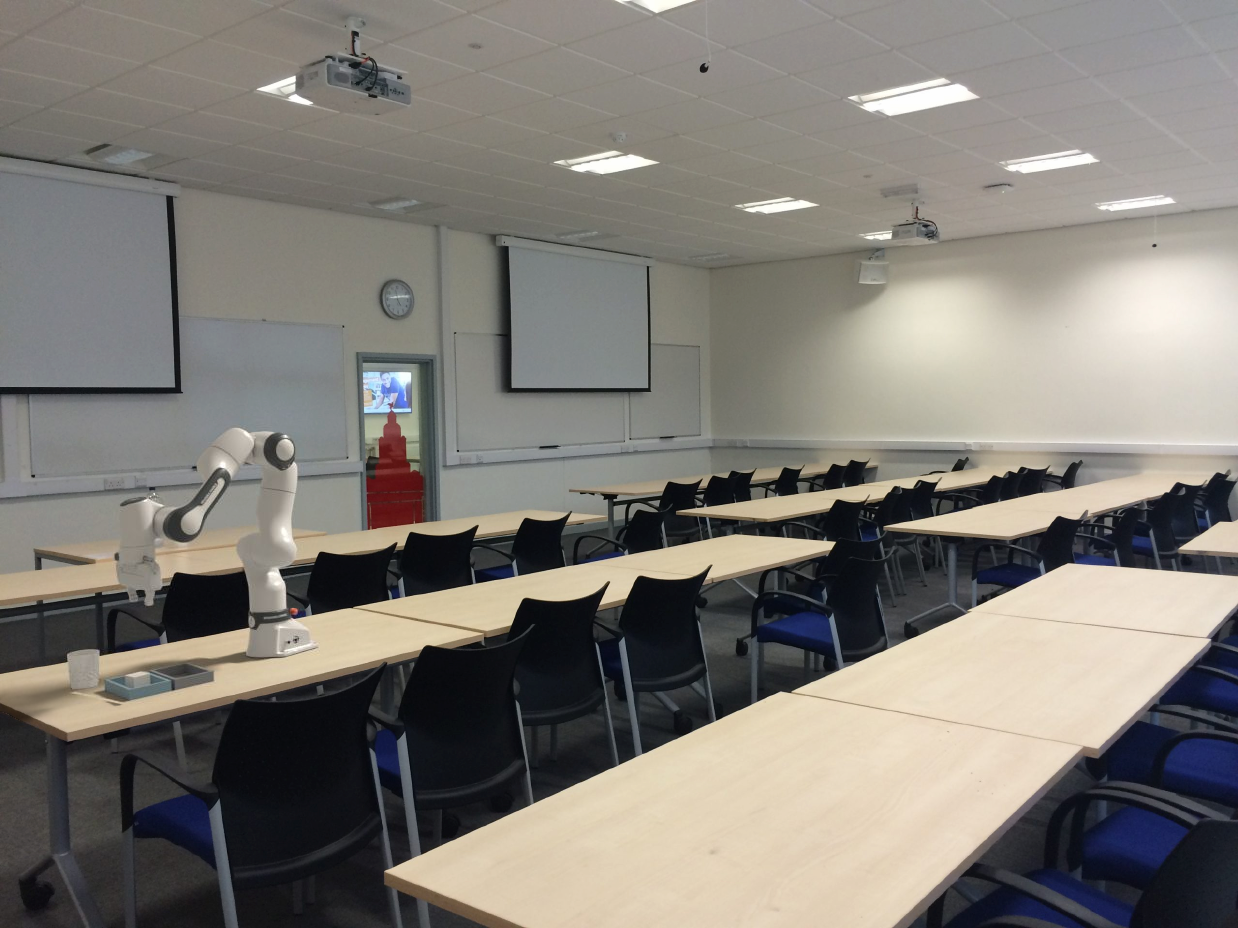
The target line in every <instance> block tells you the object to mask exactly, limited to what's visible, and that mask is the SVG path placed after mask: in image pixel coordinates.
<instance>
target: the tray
mask: <svg viewBox="0 0 1238 928" xmlns="http://www.w3.org/2000/svg"><path fill="white" fill-rule="evenodd" d="M148 672H149V673H152V674H155V675H157V676H160V677H163V678H166V679H168V680H171V689H172V690H174V691H177V690H182V689H187V688H191V687H196V686H199V685H204V684H208V683H213V682H214V681H215V676H214V675H215V673H214V670H212V669H209V668H205V667H202V666H199V665H197V664H194V663H190V662H184V663H182V662H181V663H179V664H174V665H173V664H172V665H168V666H163V667H160V668H154V669H150V670H149V669H148Z"/></svg>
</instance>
